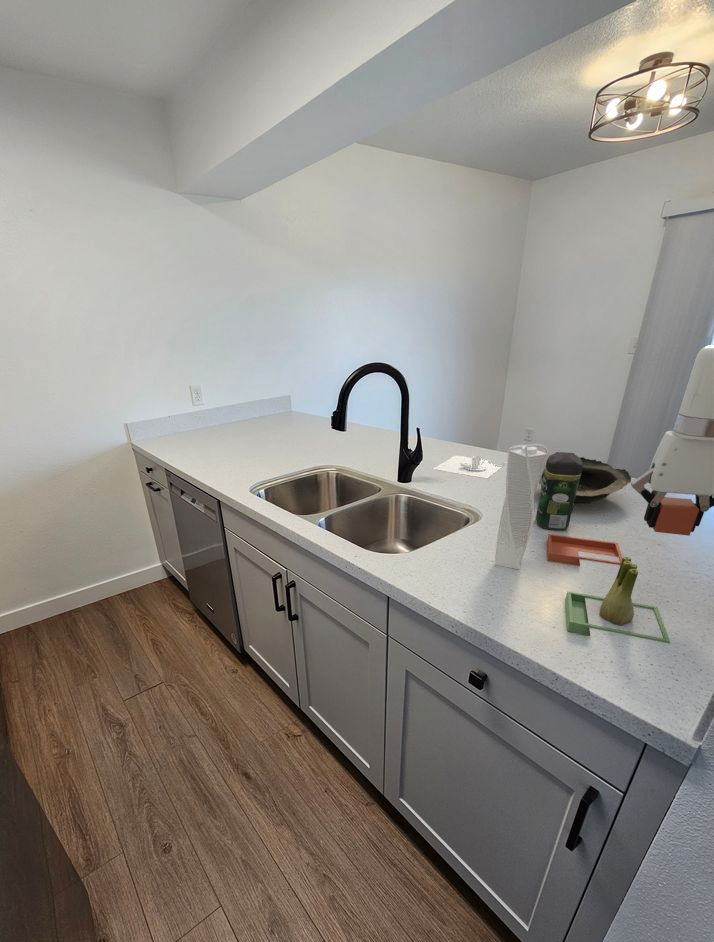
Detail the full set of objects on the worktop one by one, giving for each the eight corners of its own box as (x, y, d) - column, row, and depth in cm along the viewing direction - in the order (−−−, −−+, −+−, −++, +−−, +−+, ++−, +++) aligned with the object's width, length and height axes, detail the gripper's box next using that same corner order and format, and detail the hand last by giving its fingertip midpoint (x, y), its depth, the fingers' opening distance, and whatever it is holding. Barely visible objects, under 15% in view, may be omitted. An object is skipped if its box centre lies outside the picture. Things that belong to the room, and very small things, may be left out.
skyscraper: (524, 574, 94) (550, 446, 81) (488, 566, 97) (507, 443, 85) (528, 557, 100) (552, 436, 87) (493, 551, 103) (512, 434, 91)
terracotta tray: (615, 550, 101) (617, 542, 100) (621, 572, 92) (624, 564, 91) (546, 541, 106) (548, 533, 105) (547, 561, 98) (549, 553, 97)
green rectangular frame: (653, 616, 79) (657, 606, 78) (666, 651, 71) (670, 641, 70) (565, 600, 85) (567, 591, 84) (567, 631, 77) (570, 621, 76)
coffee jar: (534, 514, 120) (547, 448, 112) (566, 518, 117) (582, 450, 109) (534, 529, 112) (549, 459, 104) (569, 533, 109) (587, 461, 101)
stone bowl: (600, 482, 138) (609, 454, 133) (636, 520, 117) (648, 489, 112) (517, 480, 142) (523, 453, 137) (538, 517, 121) (546, 486, 117)
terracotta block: (681, 524, 80) (691, 499, 78) (689, 535, 76) (699, 509, 74) (649, 520, 82) (657, 496, 80) (654, 532, 78) (663, 506, 76)
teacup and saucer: (457, 469, 158) (459, 458, 156) (466, 463, 163) (467, 452, 161) (481, 473, 153) (483, 461, 151) (490, 467, 158) (491, 456, 156)
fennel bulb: (603, 608, 81) (620, 552, 76) (634, 619, 78) (655, 561, 72) (592, 622, 78) (610, 564, 72) (624, 634, 74) (645, 575, 69)
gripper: (763, 423, 70) (721, 524, 79) (636, 419, 77) (610, 513, 85) (784, 434, 64) (737, 542, 73) (645, 429, 71) (616, 529, 79)
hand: (669, 525), depth 79 cm, fingers closed on terracotta block, 5 cm apart
